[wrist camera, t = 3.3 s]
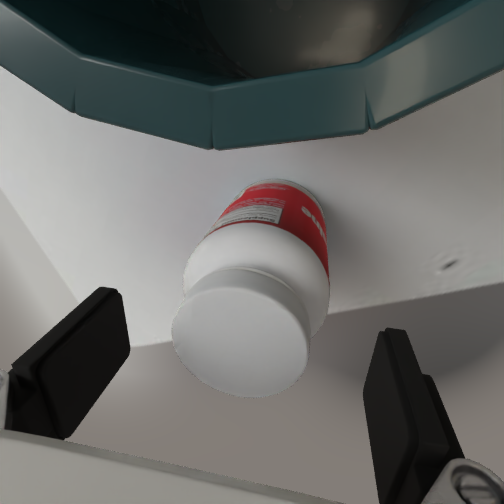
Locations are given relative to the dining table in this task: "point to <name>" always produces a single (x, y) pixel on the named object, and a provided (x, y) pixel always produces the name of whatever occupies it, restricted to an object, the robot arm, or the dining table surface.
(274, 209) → the pill bottle
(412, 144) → the dining table surface
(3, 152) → the dining table surface
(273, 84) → the teal faceted cylinder
